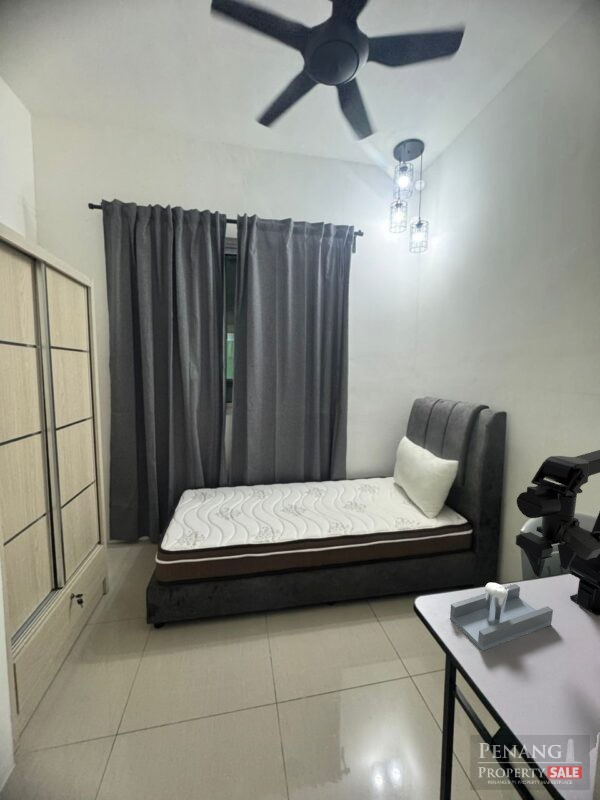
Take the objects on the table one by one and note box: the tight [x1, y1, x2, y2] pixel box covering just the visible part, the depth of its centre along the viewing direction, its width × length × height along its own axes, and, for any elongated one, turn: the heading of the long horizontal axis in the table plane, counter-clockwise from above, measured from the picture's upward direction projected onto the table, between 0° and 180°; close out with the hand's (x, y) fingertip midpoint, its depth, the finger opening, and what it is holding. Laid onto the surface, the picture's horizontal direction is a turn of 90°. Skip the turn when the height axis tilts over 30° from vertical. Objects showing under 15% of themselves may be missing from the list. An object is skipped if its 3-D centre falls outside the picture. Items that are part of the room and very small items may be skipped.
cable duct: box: [449, 583, 554, 652], centre depth 78 cm, size 22×9×4 cm, turn 109°
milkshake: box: [485, 582, 512, 625], centre depth 77 cm, size 5×5×10 cm
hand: (551, 572), depth 77 cm, fingers open, 9 cm apart
